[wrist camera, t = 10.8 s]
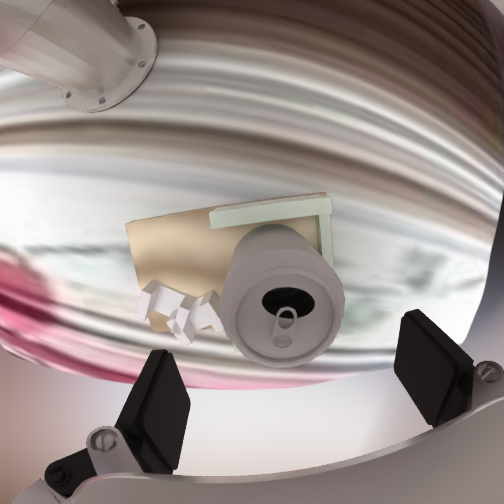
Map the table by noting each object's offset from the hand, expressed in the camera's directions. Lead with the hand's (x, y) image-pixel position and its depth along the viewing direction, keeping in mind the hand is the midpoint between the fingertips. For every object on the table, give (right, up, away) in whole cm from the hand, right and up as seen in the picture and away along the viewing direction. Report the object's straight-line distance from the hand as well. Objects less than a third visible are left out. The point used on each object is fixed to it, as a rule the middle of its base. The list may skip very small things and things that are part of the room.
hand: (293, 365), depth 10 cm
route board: (-4, +3, +17) cm, 18 cm away
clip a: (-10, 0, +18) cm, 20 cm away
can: (0, +3, +16) cm, 16 cm away
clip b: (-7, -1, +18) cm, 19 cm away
